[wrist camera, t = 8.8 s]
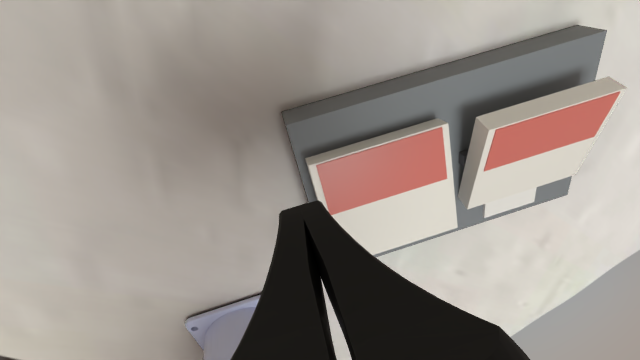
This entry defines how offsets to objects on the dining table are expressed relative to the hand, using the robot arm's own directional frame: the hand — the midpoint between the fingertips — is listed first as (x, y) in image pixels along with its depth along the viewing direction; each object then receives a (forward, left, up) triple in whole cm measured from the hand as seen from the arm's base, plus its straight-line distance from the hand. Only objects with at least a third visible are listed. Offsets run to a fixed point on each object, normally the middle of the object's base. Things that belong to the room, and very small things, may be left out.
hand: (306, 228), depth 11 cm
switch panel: (-6, -10, -10) cm, 16 cm away
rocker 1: (-6, -5, -7) cm, 10 cm away
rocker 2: (-6, -14, -7) cm, 17 cm away
